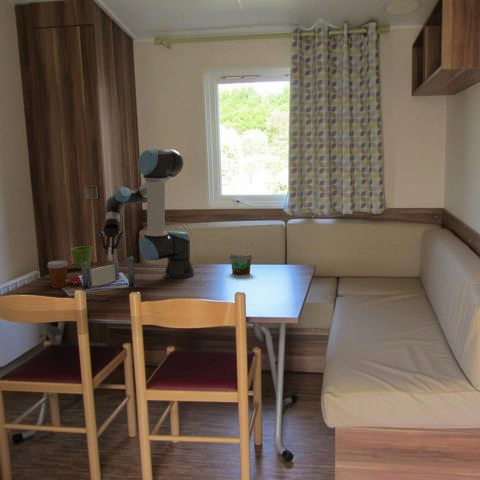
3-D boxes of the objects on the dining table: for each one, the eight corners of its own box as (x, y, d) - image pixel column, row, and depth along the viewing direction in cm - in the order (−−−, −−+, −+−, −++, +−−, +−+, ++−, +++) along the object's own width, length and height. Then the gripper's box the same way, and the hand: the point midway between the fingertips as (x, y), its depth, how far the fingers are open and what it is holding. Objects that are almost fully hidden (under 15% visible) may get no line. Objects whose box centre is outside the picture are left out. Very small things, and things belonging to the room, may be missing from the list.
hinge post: (90, 287, 249) (88, 261, 246) (89, 289, 245) (87, 262, 243) (82, 288, 248) (80, 261, 246) (81, 290, 245) (79, 263, 242)
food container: (226, 274, 271) (225, 255, 269) (230, 271, 277) (230, 253, 275) (248, 276, 266) (247, 257, 265) (252, 273, 272) (252, 254, 270)
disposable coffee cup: (63, 289, 247) (61, 264, 245) (44, 288, 249) (42, 264, 247) (73, 284, 256) (71, 260, 254) (55, 283, 258) (53, 259, 256)
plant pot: (84, 264, 300) (83, 245, 298) (98, 267, 293) (96, 247, 291) (67, 268, 291) (65, 248, 289) (80, 271, 284) (79, 250, 282)
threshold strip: (127, 286, 250) (127, 285, 250) (126, 288, 247) (126, 287, 247) (91, 288, 248) (91, 287, 248) (90, 289, 245) (90, 289, 245)
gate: (90, 287, 247) (89, 266, 245) (87, 286, 249) (86, 265, 247) (119, 279, 260) (118, 260, 259) (116, 278, 262) (115, 259, 260)
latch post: (136, 285, 251) (134, 255, 248) (135, 287, 247) (133, 256, 245) (128, 286, 250) (126, 255, 248) (127, 288, 247) (126, 257, 244)
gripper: (125, 226, 282) (123, 262, 269) (100, 226, 281) (97, 263, 267) (123, 217, 276) (121, 255, 263) (98, 218, 274) (95, 255, 261)
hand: (109, 259), depth 265 cm, fingers closed
